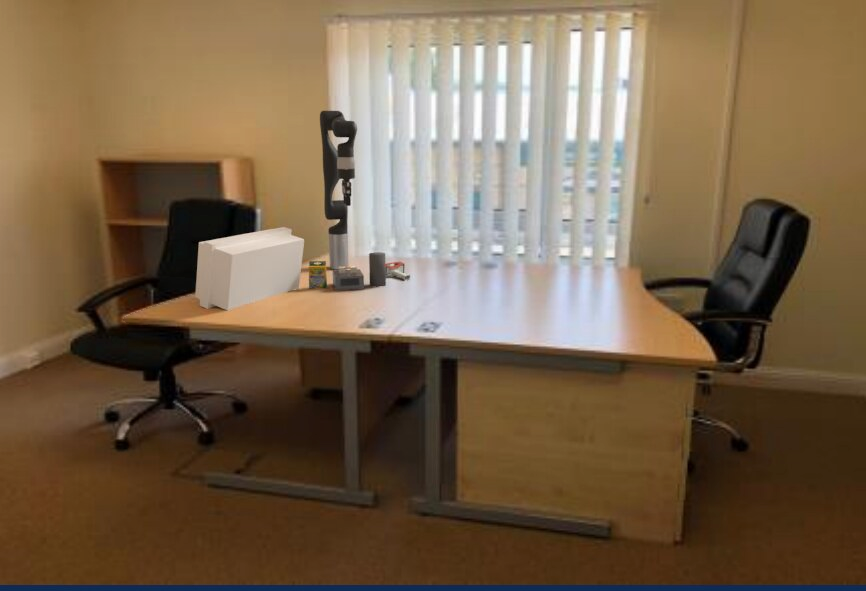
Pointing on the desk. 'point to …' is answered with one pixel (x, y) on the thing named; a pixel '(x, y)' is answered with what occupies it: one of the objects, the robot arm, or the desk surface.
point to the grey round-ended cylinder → (377, 269)
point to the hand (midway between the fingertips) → (347, 204)
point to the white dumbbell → (352, 269)
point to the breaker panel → (348, 280)
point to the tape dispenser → (396, 270)
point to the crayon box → (317, 274)
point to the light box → (248, 267)
